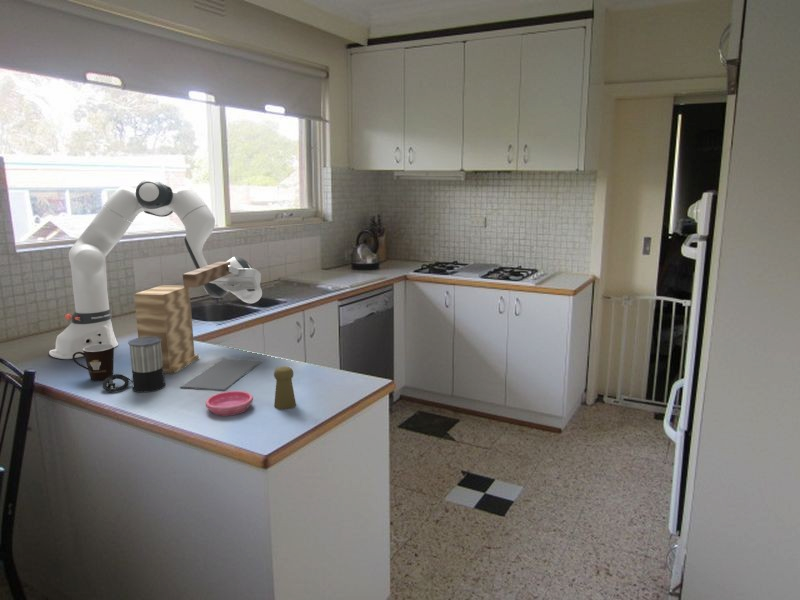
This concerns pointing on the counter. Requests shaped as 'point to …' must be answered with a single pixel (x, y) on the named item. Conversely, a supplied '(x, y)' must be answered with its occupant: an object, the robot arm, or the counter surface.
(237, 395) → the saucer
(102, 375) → the coffee mug
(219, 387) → the rubber mat
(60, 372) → the counter surface
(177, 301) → the oak block
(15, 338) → the counter surface
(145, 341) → the milk frother
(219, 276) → the walnut bar
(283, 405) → the cork
